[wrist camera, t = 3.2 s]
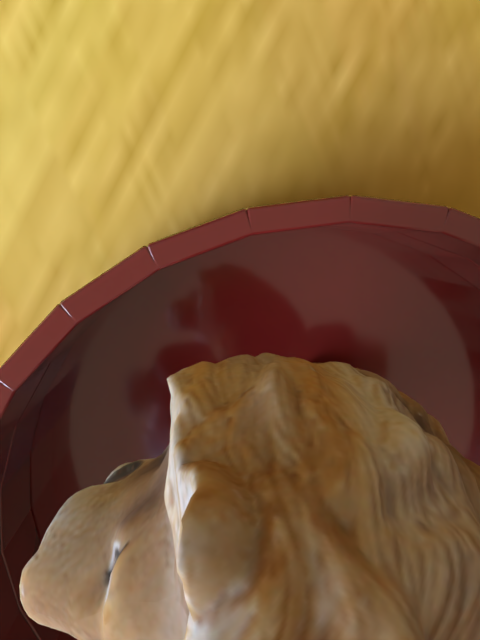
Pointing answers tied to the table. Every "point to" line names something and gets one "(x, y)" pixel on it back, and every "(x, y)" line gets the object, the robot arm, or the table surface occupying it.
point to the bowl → (232, 343)
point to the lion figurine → (272, 518)
